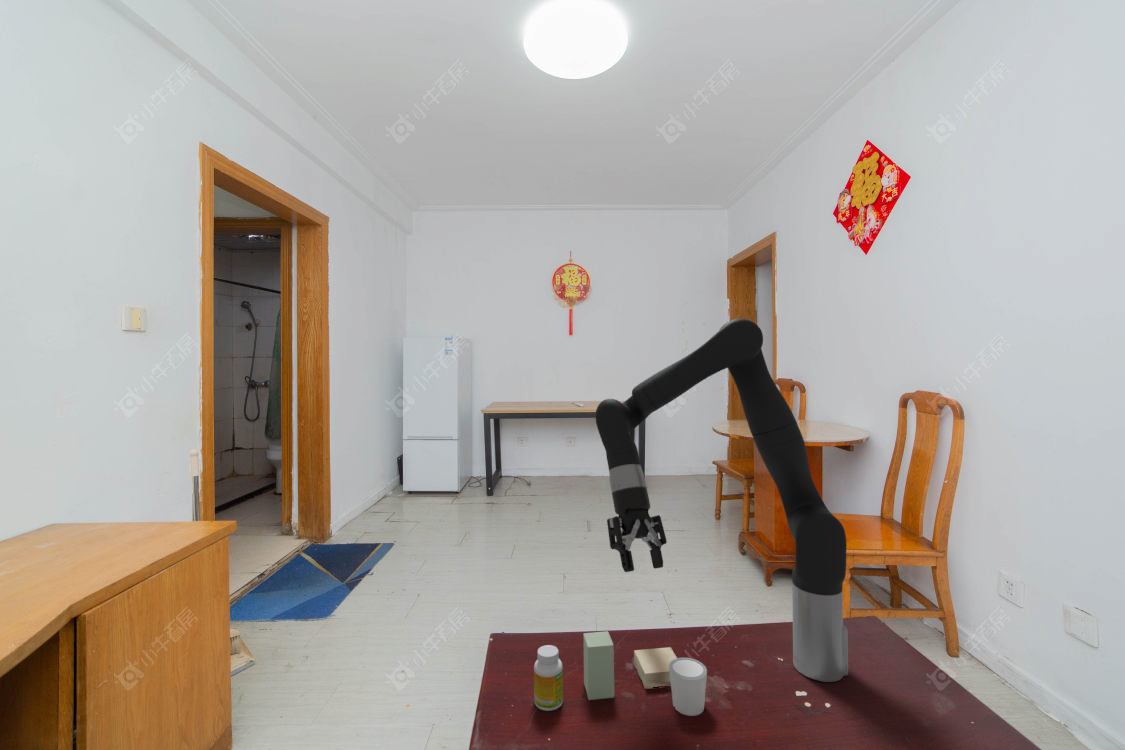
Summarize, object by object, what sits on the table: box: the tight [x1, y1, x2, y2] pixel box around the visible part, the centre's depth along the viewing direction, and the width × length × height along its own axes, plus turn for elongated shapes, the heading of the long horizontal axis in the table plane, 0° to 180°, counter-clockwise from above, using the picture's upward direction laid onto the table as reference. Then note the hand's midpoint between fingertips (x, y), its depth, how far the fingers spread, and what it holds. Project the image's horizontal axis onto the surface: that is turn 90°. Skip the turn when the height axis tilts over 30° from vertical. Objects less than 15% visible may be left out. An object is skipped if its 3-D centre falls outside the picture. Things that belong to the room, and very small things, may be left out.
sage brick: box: [582, 631, 615, 701], centre depth 95 cm, size 5×5×10 cm
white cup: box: [669, 657, 708, 717], centre depth 90 cm, size 7×7×7 cm
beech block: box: [633, 646, 678, 690], centre depth 100 cm, size 8×8×3 cm
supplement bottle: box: [533, 644, 564, 712], centre depth 92 cm, size 5×5×10 cm
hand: (644, 569), depth 98 cm, fingers open, 8 cm apart
